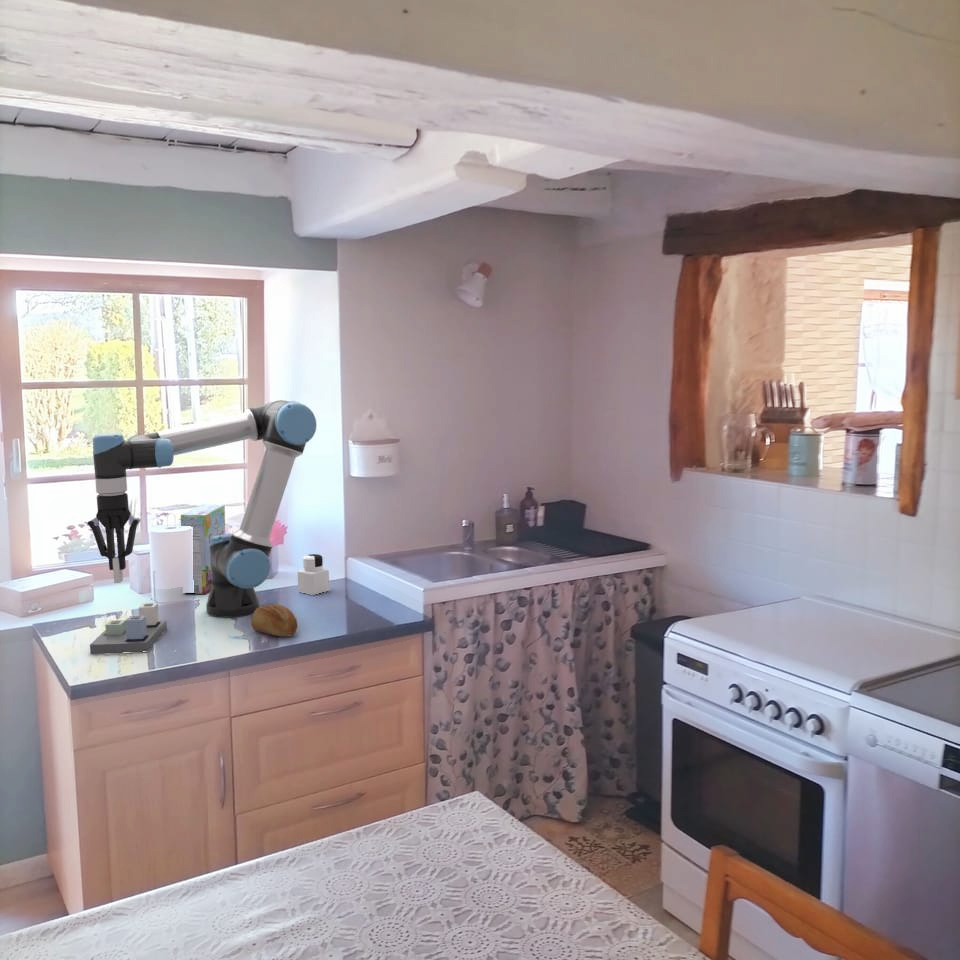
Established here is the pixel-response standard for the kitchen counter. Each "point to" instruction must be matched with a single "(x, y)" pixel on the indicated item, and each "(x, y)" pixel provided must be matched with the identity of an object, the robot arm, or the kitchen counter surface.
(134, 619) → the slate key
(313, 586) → the stacked cream blocks
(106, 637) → the keypad board
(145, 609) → the ivory key
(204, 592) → the snack box
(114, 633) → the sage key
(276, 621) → the bread roll
